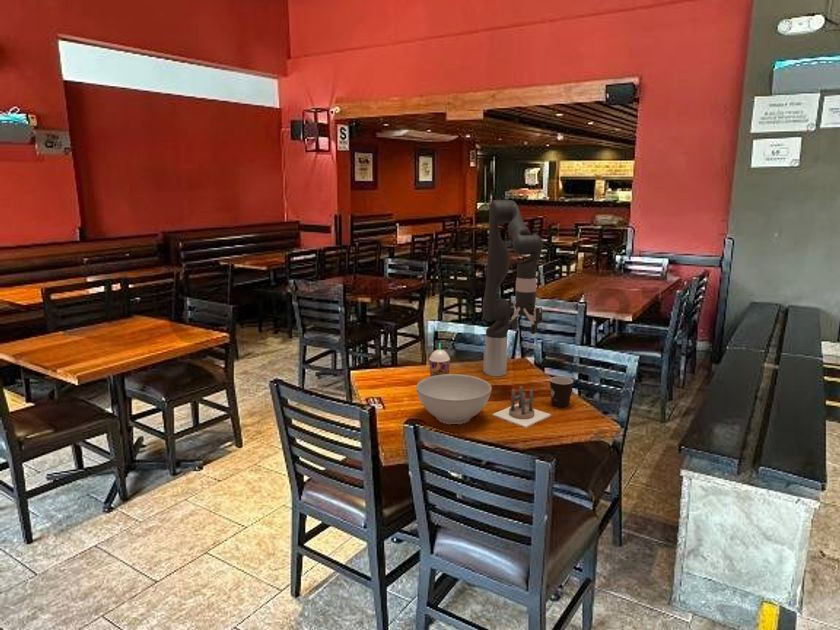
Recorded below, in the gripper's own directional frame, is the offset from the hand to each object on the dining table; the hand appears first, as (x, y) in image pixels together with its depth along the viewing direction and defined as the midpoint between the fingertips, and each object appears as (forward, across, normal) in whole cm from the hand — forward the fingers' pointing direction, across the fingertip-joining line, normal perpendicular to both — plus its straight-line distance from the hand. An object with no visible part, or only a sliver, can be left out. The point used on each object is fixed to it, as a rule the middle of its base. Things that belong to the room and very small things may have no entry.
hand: (524, 331), depth 224 cm
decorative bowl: (+28, +6, +31) cm, 42 cm away
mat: (+28, -9, +12) cm, 32 cm away
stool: (+27, -9, +12) cm, 31 cm away
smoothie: (+28, +30, +15) cm, 44 cm away
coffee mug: (+28, -12, -8) cm, 32 cm away
